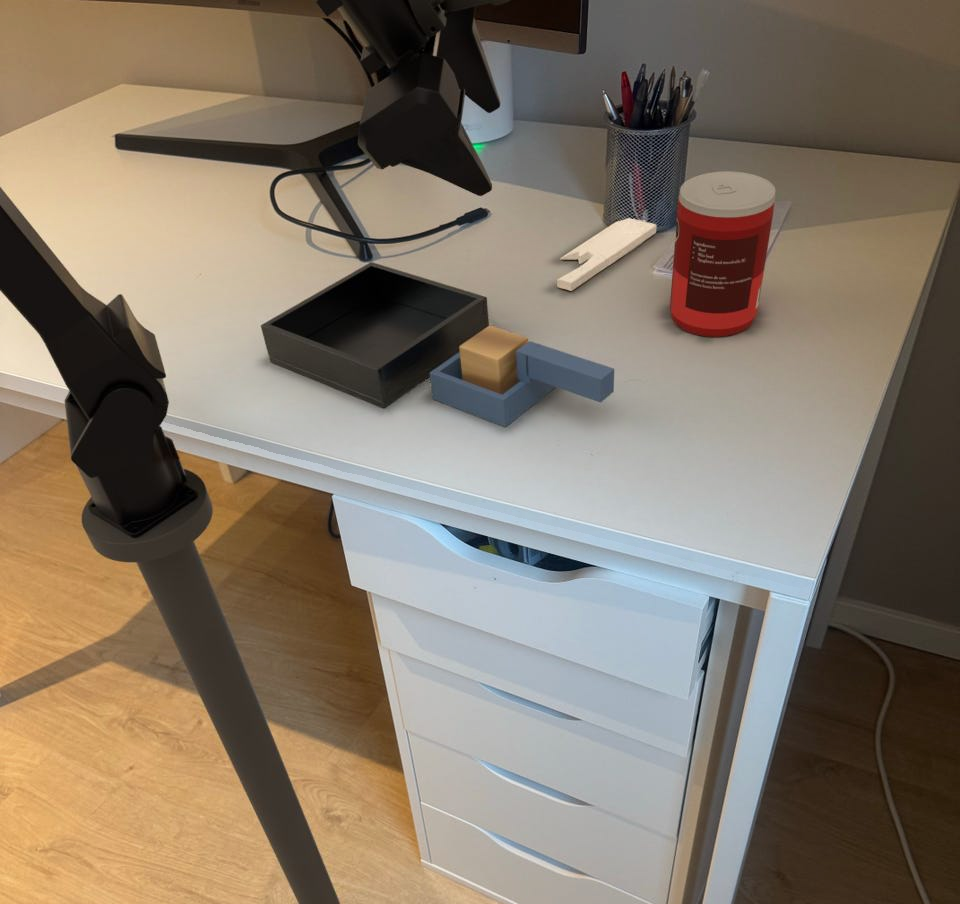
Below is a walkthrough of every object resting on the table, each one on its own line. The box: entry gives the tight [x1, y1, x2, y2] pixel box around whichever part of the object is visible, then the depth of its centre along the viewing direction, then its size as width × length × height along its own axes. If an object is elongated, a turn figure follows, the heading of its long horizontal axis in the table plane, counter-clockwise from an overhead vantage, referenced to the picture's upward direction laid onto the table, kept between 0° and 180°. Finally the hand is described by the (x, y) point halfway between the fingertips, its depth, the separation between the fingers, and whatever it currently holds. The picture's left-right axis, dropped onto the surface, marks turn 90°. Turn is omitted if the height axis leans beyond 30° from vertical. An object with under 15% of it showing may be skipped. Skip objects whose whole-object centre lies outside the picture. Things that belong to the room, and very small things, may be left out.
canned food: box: [669, 171, 776, 338], centre depth 77 cm, size 8×8×11 cm
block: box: [459, 325, 529, 395], centre depth 74 cm, size 4×4×4 cm
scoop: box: [429, 340, 615, 428], centre depth 72 cm, size 8×15×5 cm, turn 51°
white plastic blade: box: [556, 217, 658, 292], centre depth 91 cm, size 5×15×1 cm, turn 140°
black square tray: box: [260, 261, 490, 409], centre depth 80 cm, size 14×14×4 cm
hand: (491, 149), depth 64 cm, fingers open, 9 cm apart
